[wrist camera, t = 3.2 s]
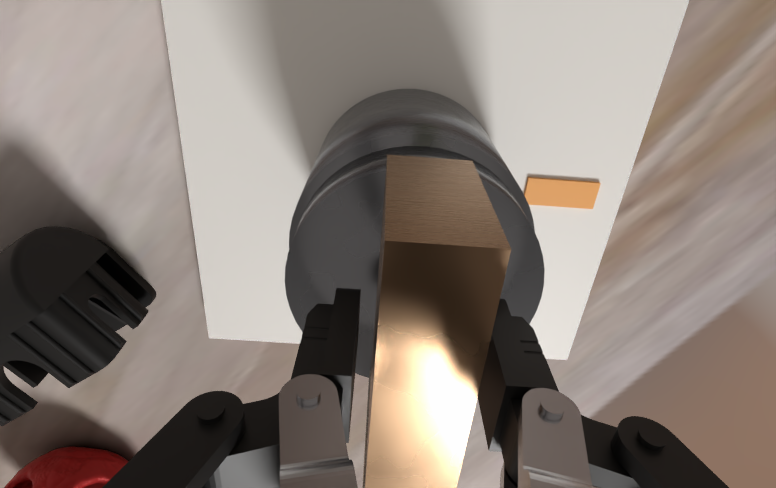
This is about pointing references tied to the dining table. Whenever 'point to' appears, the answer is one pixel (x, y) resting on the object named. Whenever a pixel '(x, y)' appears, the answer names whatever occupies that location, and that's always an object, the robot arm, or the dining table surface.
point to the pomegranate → (69, 469)
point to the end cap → (62, 310)
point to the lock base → (378, 43)
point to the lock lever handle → (417, 295)
